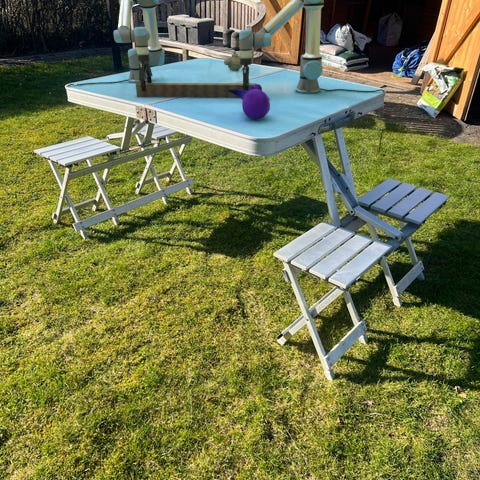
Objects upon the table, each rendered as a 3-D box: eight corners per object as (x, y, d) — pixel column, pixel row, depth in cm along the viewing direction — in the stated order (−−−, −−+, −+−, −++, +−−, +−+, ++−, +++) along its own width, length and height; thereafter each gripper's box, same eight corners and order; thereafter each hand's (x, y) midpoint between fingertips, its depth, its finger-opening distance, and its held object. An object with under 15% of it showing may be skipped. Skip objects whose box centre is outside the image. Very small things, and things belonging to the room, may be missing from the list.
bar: (137, 96, 294) (135, 84, 290) (139, 95, 299) (138, 82, 295) (255, 97, 286) (255, 85, 282) (256, 95, 290) (256, 83, 286)
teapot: (227, 73, 361) (227, 53, 353) (221, 70, 369) (220, 51, 362) (250, 70, 370) (250, 50, 362) (243, 68, 378) (242, 49, 371)
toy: (252, 108, 261) (269, 126, 240) (224, 103, 254) (239, 121, 233) (259, 81, 253) (278, 97, 232) (231, 75, 246) (247, 91, 225)
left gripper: (142, 56, 272) (147, 92, 282) (154, 51, 293) (158, 85, 304) (130, 56, 272) (135, 92, 283) (143, 51, 294) (147, 85, 304)
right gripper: (250, 60, 268) (250, 99, 280) (253, 55, 284) (253, 92, 296) (237, 60, 269) (238, 99, 281) (241, 55, 285) (242, 92, 297)
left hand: (147, 89), depth 293 cm, fingers open, 13 cm apart
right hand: (246, 96), depth 288 cm, fingers closed on bar, 6 cm apart
